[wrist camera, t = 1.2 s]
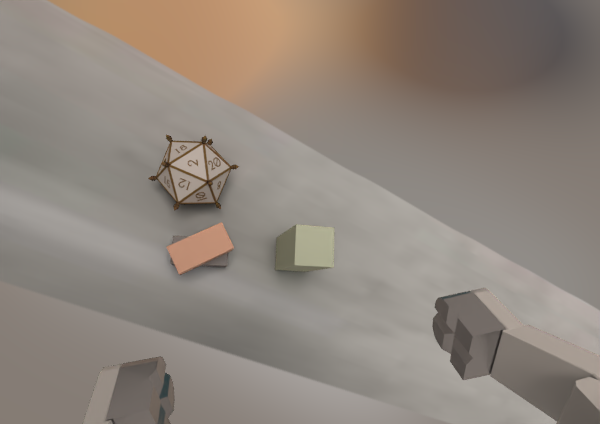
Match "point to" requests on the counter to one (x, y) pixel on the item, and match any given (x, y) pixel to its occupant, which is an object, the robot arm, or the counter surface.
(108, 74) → the counter surface
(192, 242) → the terracotta brick
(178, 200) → the game die
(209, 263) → the charcoal brick
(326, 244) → the green block
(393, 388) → the counter surface
